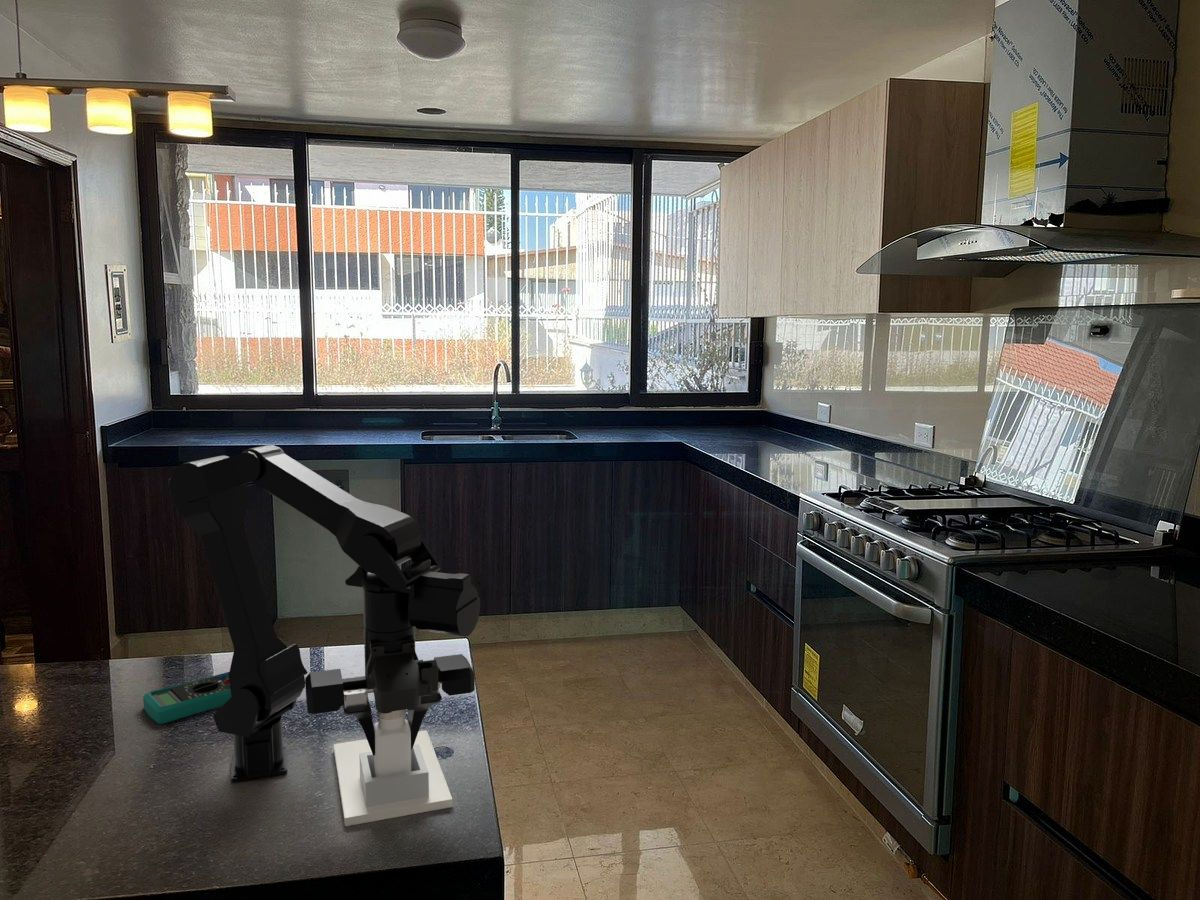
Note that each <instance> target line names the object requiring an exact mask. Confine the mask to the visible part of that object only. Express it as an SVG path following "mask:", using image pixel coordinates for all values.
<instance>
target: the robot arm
mask: <svg viewBox="0 0 1200 900" xmlns="http://www.w3.org/2000/svg"><path fill="white" fill-rule="evenodd" d="M251 485H256V486H258V487H259V488H261V489H263V490H264V491H266V492H267V493H269V494H270V495H272V496H274V497H275V498H276V499H278V500H279V501H281V502H282V503H284V504H286V505H288V506H289V507H290V508H292V509H294V510H295V511H297V512H299V513H300V514H302V515H303V516H305V517H307V518H308V519H309V520H311V521H313V522H315V523H316V524H317V525H319V526H321V527H322V528H324V529H325V530H327V531H328V532H329V533H330V534H332V535H333V536H334V537H335V539H336V540H337V542H338V545H339V547H340V548H341V551H342V552H343V553H344V554H345V555H346V556H348V557H349V558H350V560H352V561H353V562H354V563H355V564H357V566H358V567H356V569H355V571H354V572H353V573H352V574H351V575H350V576H349V577H347V578H346V579H345V581H344V583H345V585H346V586H350V587H356V588H362V602H363V603H362V605H363V607H362V609H363V610H362V611H363V615H362V616H363V643H364V644H363V646H364V649H363V650H364V675H363V676H354V677H347V678H343V676H342V671H341V668H334V669H325V670H318V671H310V672H309V673H308V670H307V669H306V667H304V664H303V661H302V656H301V649H300V647H299V646H298V644H297V643H293V644H291V645H289V646H288V644H286V643H285V642H284V641H283V640H282V639H281V638H280V637H279V636H278V635H277V634H276V630H275V628H274V625H273V621H272V618H271V614H270V611H269V608H268V604H267V601H266V598H265V594H264V589H263V588H262V583H261V580H260V576H259V574H258V569H257V566H256V563H255V560H254V557H253V554H252V553H253V552H252V549H251V547H250V546H251V545H250V542H249V539H248V536H247V533H246V528H245V518H246V514H247V509H248V506H249V499H250V498H249V497H250V496H249V491H248V486H251ZM168 490H169V494H170V497H171V498H172V501H173V503H174V505H175V507H176V510H177V512H178V514H179V517H180V519H182V521H183V522H184V523H186V524H187V525H188V526H189V527H190V528H191V529H192V530H193V531H195V533H197V535H198V536H199V537H200V539H201V542H202V545H203V548H204V552H205V555H206V559H207V562H208V566H209V569H210V572H211V575H212V579H213V583H214V586H215V589H216V593H217V596H218V600H219V603H220V606H221V608H222V612H223V616H224V620H225V623H226V626H227V631H228V633H229V636H230V640H231V642H232V647H233V653H232V658H231V662H230V668H229V671H228V672H229V676H228V677H229V684H230V691H231V698H230V699H229V700H228V701H227V702H226V703H225V704H224V705H223V706H222V707H219V709H218V710H217V711H216V712H215V713H214V714H213V720H214V722H215V725H216V728H217V731H218V733H219V732H220V733H225V734H230V735H232V737H233V739H232V740H233V754H232V756H231V765H230V782H233V783H235V782H241V781H247V780H253V779H254V780H255V779H260V778H268V777H274V776H278V775H284V774H287V773H288V753H287V751H288V750H287V747H286V746H284V740H283V737H284V735H283V719H282V718H283V717H282V716H283V715H284V714H286V713H287V712H289V711H291V710H294V708H295V706H296V703H297V701H298V698H299V697H300V696H301V695H302V692H303V691H304V689H305V701H306V708H307V714H311V715H318V714H325V713H331V712H338V711H339V710H340V709H341V708H342V712H343V714H344V715H346V716H354V717H355V718H356V720H357V722H358V723H359V725H360V726H361V728H362V730H363V733H364V735H365V738H366V739H367V741H368V743H369V746H370V749H371V751H372V754H373V756H374V755H375V732H374V726H373V725H374V721H373V714H372V707H371V704H370V700H369V694H371V693H373V696H374V703H375V705H374V706H375V709H376V712H377V711H378V712H380V713H383V714H386V713H391V712H392V711H398V710H405V709H406V710H407V720H408V722H409V726H410V731H411V750H412V749H413V746H414V743H415V740H416V737H417V734H418V731H420V728H421V725H422V723H423V721H424V718H425V716H426V714H427V712H428V710H429V709H430V708H431V707H432V706H433V705H435V704H439V703H440V702H441V701H442V698H443V697H442V695H441V692H440V689H441V691H443V692H444V693H445V694H447V695H448V696H451V697H452V696H456V695H458V696H459V695H464V694H472V693H473V692H474V691H475V690H476V689H475V687H476V686H475V685H476V683H475V681H476V680H475V678H476V677H475V672H474V669H473V667H472V666H471V664H470V662H469V660H468V659H467V657H465V656H464V655H463V654H462V653H459V654H452V655H443V656H434V658H433V659H429V660H424V659H419V657H418V655H417V652H416V629H417V630H418V631H423V632H430V633H435V634H437V633H438V634H443V635H450V636H457V637H462V638H463V637H464V638H465V637H466V638H467V637H469V636H470V635H471V634H472V633H473V632H474V630H475V629H476V626H477V623H478V621H479V617H480V612H481V598H480V597H479V593H478V591H477V589H476V587H475V586H474V585H473V584H472V581H471V580H472V576H471V574H468V573H460V572H459V573H449V572H447V573H445V572H438V571H439V570H441V568H442V567H441V564H440V563H439V561H438V560H437V558H436V556H435V555H434V553H433V552H432V550H431V549H430V547H429V545H428V544H427V543H426V541H425V540H424V538H423V537H422V535H421V531H420V526H419V523H418V522H417V521H416V520H415V519H414V518H413V517H412V516H410V515H408V514H407V513H404V512H402V511H399V510H397V509H394V508H391V507H389V506H387V505H382V504H378V503H373V502H367V501H364V500H362V499H359V498H357V497H355V496H353V495H352V494H350V493H349V492H347V491H345V490H343V489H342V488H340V487H339V486H337V485H336V484H334V483H333V482H330V480H328V479H326V478H325V477H323V476H321V475H320V474H318V473H316V472H315V471H313V470H312V469H310V468H308V467H307V466H305V465H304V464H302V463H300V462H299V461H297V460H296V459H293V458H292V457H291V456H289V455H288V454H286V452H285V450H283V448H281V447H279V446H276V445H273V444H266V445H265V444H264V445H261V446H256V447H251V448H248V449H247V448H246V449H245V450H243V451H242V452H240V453H238V454H235V455H231V456H228V455H217V456H213V457H211V456H210V457H207V458H203V459H198V460H193V461H188V462H183V463H181V464H179V465H177V467H175V469H174V470H173V471H172V474H171V477H170V478H169V479H168ZM408 561H412V562H413V563H411V564H410V565H407V566H405V567H404V568H400V565H402V564H404V563H406V562H408ZM305 675H306V676H305Z"/></svg>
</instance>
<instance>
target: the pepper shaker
mask: <svg viewBox="0 0 1200 900" xmlns="http://www.w3.org/2000/svg"><path fill="white" fill-rule="evenodd" d="M406 710H407V709H405V710H398V711H392V712H391V713H386V714H383V713H380V712H378V711H377V710H376V713H377V714H376V715H377V718H378V719H377V720H378V721H377V722H375V723H373V726H374V732H375V755H374V768H375V774H376V777H381V776H387V775H393V774H399V773H406V772H411V731H410V726H409V722H408V719H407V718H406V714H407V713H406Z"/></svg>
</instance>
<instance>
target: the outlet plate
mask: <svg viewBox="0 0 1200 900" xmlns="http://www.w3.org/2000/svg"><path fill="white" fill-rule="evenodd" d="M333 754H334V755H333V756H334V761H335V767H336V768H335V769H336V775H337V783H338V789H339V794H340V801H341V808H342V815H343V823H344V827H350V826H355V825H361V824H366V823H371V822H377V821H382V820H388V819H393V818H398V817H399V818H400V817H405V816H410V815H416V814H421V813H425V812H426V813H427V812H433V811H438V810H443V809H450V808H453V807H454V806H453V796H452V794H451V792H450V791H451V790H450V789H449V786H448V784H447V781H446V778H445V775H444V773H443V769H442V768H441V765H440V762H439V759H438V756H437V754H436V752H435V749H434V746H433V744H432V741H431V738H430V735H429V733H428V730H427V729H425V730H419V731H418V734H417V737H416V740H415V743H414V746H413V749H412V750H411V772H406V773H399V774H393V775H387V776H381V777H376V774H375V768H374V756H373V754H372V751H371V749H370V746H369V743H368V741H367V738H366V739H359V740H353V741H352V740H351V741H346V742H340V743H339V742H338V743H333Z"/></svg>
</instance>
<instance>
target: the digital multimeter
mask: <svg viewBox="0 0 1200 900" xmlns="http://www.w3.org/2000/svg"><path fill="white" fill-rule="evenodd" d="M228 676H229V671H228V672H224V673H220V674H216V675H212V676H208V677H205V678H201V679H197V680H193V681H188V682H186V683H181V684H177V685H176V684H175V685H173V686H169V687H164V688H160V689H156V690H155V689H154V690H152V691H148V692H147V693H146V694H144V695H142V699H143V701H142V702H143V709H144V711H145V712H146V714H147V715H148V716H149V717H150V719H152V720H153V721H154V722H156V723H157V724H158V725H163V724H167V723H170V722H174V721H176V720H180V718H181V719H183V718H187V717H190V716H193V714H194V715H197V714H201V713H204V712H208V711H211V710H214V708H215V709H217V708H221V706H223V705H224V704H225V703H226V702H227V701H228V700H229V699H230V698H231V691H230V684H229V677H228ZM210 709H211V710H210ZM207 710H208V711H207ZM203 711H204V712H203ZM200 712H201V713H200ZM196 713H197V714H196Z"/></svg>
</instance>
